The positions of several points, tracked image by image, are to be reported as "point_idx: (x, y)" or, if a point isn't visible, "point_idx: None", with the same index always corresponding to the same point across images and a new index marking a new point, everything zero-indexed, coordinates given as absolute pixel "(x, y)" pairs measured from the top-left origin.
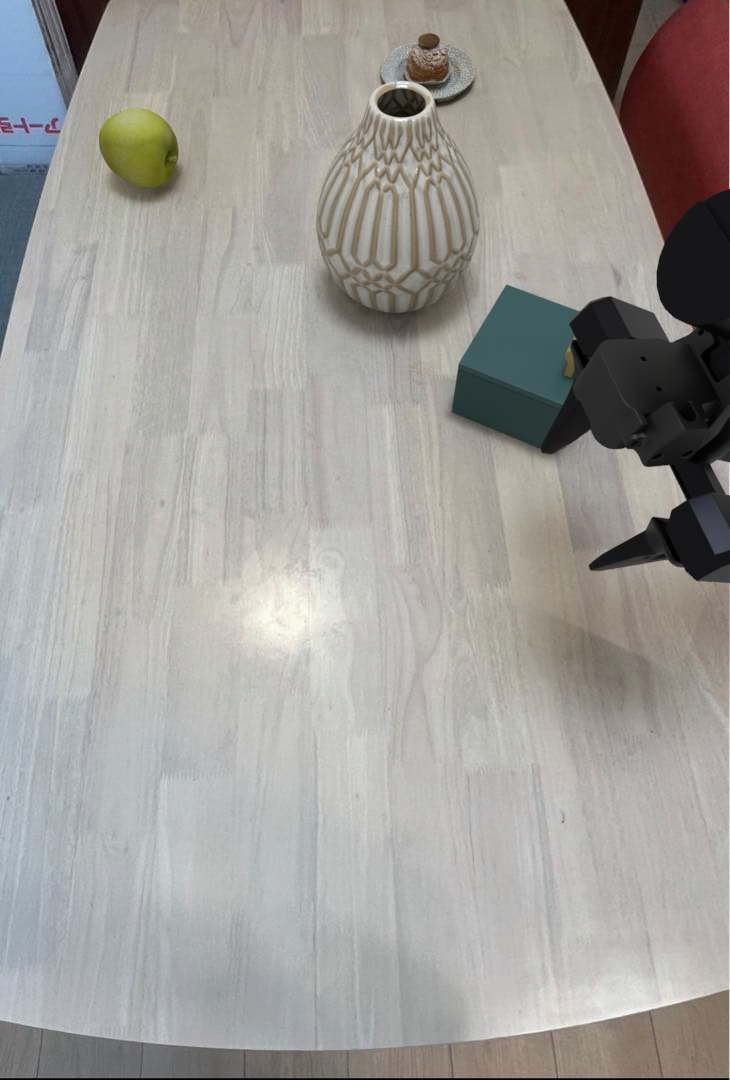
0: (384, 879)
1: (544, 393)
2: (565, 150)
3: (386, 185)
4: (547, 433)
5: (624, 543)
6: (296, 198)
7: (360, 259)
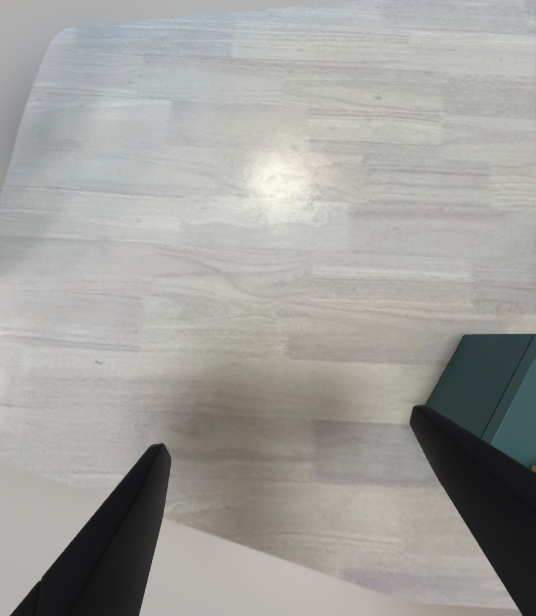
0: (82, 233)
1: (503, 432)
2: None
3: None
4: None
5: (75, 589)
6: None
7: None
